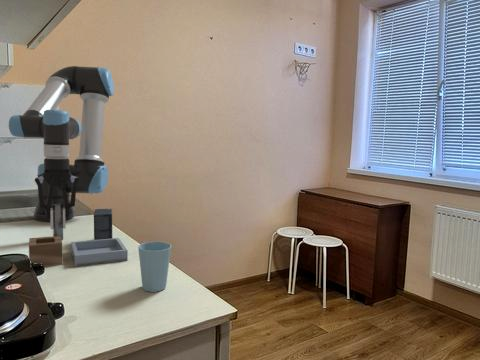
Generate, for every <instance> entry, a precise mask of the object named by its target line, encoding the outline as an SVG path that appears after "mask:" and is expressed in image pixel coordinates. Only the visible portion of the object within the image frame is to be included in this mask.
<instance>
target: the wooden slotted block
mask: <svg viewBox="0 0 480 360" xmlns="http://www.w3.org/2000/svg"><path fill="white" fill-rule="evenodd" d="M28 239H29V240H28V241H29V242H28V257H29V258H28V261H29V260H30V261H31V263H42V264H43V265H44V266H43V267H52V266H58V265H63V240H61V236H40V237H30V238H28Z"/></svg>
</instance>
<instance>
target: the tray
mask: <svg viewBox="0 0 480 360" xmlns="http://www.w3.org/2000/svg"><path fill="white" fill-rule="evenodd" d="M70 245H71V246H70V249H71V250H70V251H71V255H72V259H73V263H74V267H81V266H90V265H101V264H107V263H116V262H117V263H118V262H124V261H126V262H127V261H128V258H129V257H128V256H129V255H128V252H129V251H128V249H127V247H126V245H124V243H123V242H122V241H121V238H120V237H114V238H113V237H112V239H100V240H94V239H91V240H90V239H89V240H80V241H79V240H78V241H71V242H70Z"/></svg>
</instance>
